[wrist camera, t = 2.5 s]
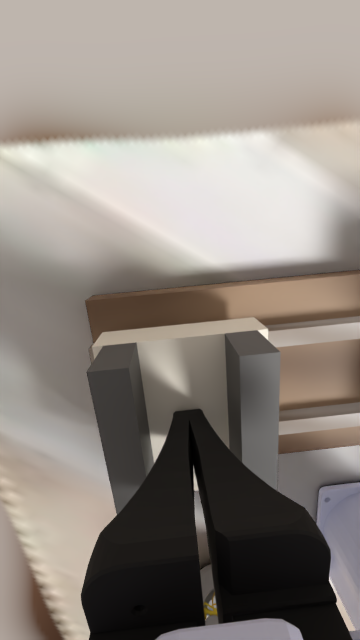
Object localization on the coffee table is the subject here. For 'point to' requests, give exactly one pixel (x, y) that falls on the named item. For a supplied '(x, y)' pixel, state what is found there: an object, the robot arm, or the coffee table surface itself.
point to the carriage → (185, 394)
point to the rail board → (273, 342)
